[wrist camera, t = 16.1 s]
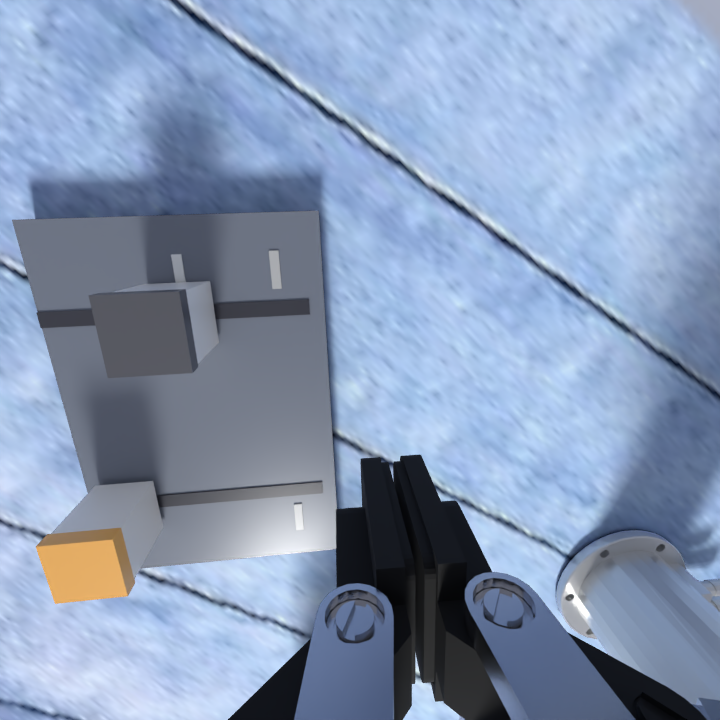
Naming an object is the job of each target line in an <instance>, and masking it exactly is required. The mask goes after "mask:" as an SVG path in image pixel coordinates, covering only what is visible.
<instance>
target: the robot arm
mask: <svg viewBox="0 0 720 720" xmlns="http://www.w3.org/2000/svg"><path fill="white" fill-rule="evenodd" d="M393 475H394V482H393V478H392V475H391V471H390V467H389V463H388V462H382V463H381V459H380V457H378V458H363V459H361V484H362V507H359V508H345V509H336V567H337V588H336V589H335V590H333V591H332V592H330V593H329V594H327V596H326V597H325V598H324V599H323V601H322V602H321V603H320V606H319V609H318V611H317V614H316V619H315V624H314V628H313V633H312V638H311V639H310V640H309V641H308V642H307V643H306V644H305V645H304V646H303V647H302V648H301V649H300V650H299V651H298V652H297V653H296V654H295V655H294V656H293V657H292V658H291V659H290V660H289V661H288V662H286V663H285V664H284V665H283V666H282V667H281V668H280V669H279V670H278V671H277V672H276V673H275V674H274V675H273V676H272V677H271V678H270V679H269V680H268V681H267V682H266V683H265V684H264V685H263V686H262V687H261V688H260V689H259V690H258V691H257V692H256V693H255V694H254V695H253V696H252V697H251V698H250V699H249V700H248V701H247V702H246V703H245V704H243V705H242V706H241V707H240V708H239V709H238V710H237V711H236V712H235V713H234V714H233V715H232V716H231V717H230V718H229V719H228V720H403V718H404V717H405V715H406V714H407V712H408V710H409V709H410V707H411V706H412V684H415V652H416V657H417V661H418V666H419V671H420V676H421V680H422V682H423V683H428V682H431V685H432V690H433V694H434V698H435V702H436V701H444V703H445V704H446V705H448V706H449V707H450V708H451V709H453V710H454V711H455V712H456V713H458V714H459V715H460V720H720V579H709V580H704V581H699V580H697V579H695V578H694V577H693V576H692V575H691V574H690V573H689V572H688V571H686V568H685V562H684V560H683V558H682V555H681V554H680V552H679V551H678V550H677V549H676V548H675V547H674V546H673V545H672V544H671V543H670V542H668V541H667V540H666V539H665V538H663V537H661V536H659V535H658V534H656V533H652V532H648V531H642V530H629V531H621V532H617V533H613V534H609V535H607V536H605V537H602V538H600V539H598V540H596V541H594V542H593V543H591V544H589V545H588V546H586V547H585V548H584V549H582V550H581V551H580V552H579V553H577V554H576V556H575V557H574V558H573V559H572V560H571V561H570V562H569V563H568V565H567V566H566V568H565V569H564V571H563V573H562V575H561V577H560V580H559V582H558V586H557V591H556V602H557V605H558V609H559V611H560V613H561V614H562V616H563V618H564V619H565V621H566V622H567V624H568V625H569V626H570V627H571V628H572V629H573V630H574V631H576V632H577V633H579V634H581V635H583V636H585V637H589V638H594V639H598V641H599V642H600V643H601V645H602V646H603V648H604V649H605V651H606V652H607V654H606V653H604V652H602V651H601V650H599V649H597V648H595V647H593V646H591V645H590V644H588V643H586V642H584V641H582V640H580V639H579V638H577V637H575V636H573V635H571V634H569V633H568V632H567V631H566V630H565V629H564V628H563V626H562V625H561V624H560V622H559V621H558V620H557V619H556V617H555V616H554V615H553V614H552V612H551V611H550V610H549V608H548V607H547V606H546V605H545V603H544V602H543V601H542V599H541V598H540V597H539V596H538V594H537V593H536V592H535V591H534V590H533V589H532V588H531V587H530V586H529V585H527V584H526V583H524V582H523V581H521V580H520V579H518V578H516V577H513V576H511V575H508V574H504V573H498V572H492V571H491V569H490V567H489V565H488V563H487V561H486V559H485V557H484V555H483V553H482V551H481V549H480V546H479V544H478V542H477V540H476V538H475V536H474V534H473V532H472V530H471V528H470V526H469V524H468V522H467V520H466V518H465V516H464V514H463V512H462V510H461V508H460V506H459V504H458V503H457V502H456V501H442V502H441V500H440V498H439V496H438V494H437V491H436V489H435V487H434V484H433V482H432V480H431V477H430V475H429V473H428V470H427V468H426V466H425V463H424V461H423V459H422V456H421V455H409V456H401V457H400V461H397V462H394V464H393Z"/></svg>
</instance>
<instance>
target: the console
mask: <svg viewBox="0 0 720 720" xmlns="http://www.w3.org/2000/svg"><path fill="white" fill-rule="evenodd" d="M12 222H13V225H14V229H15V232H16V236H17V240H18V243H19V247H20V250H21V254H22V258H23V261H24V265H25V268H26V272H27V276H28V279H29V283H30V286H31V290H32V294H33V297H34V301H35V304H36V308H37V316H38V319H39V323H40V327H41V328H42V330H43V333H44V337H45V340H46V344H47V348H48V351H49V355H50V358H51V362H52V366H53V369H54V373H55V376H56V380H57V384H58V387H59V391H60V394H61V398H62V402H63V405H64V409H65V412H66V416H67V420H68V423H69V427H70V430H71V434H72V438H73V441H74V445H75V448H76V452H77V456H78V459H79V463H80V466H81V470H82V474H83V477H84V481H85V484H86V488H87V492H88V493H89V492H90V491H91V490H92V489H93V487H94V486H97V485H109V484H122V483H134V482H146V481H153V483H154V487H155V492H156V496H157V501H158V506H159V510H160V515H161V519H162V524H163V528H162V530H161V532H160V533H159V535H158V537H157V539H156V541H155V543H154V544H153V546H152V548H151V550H150V552H149V553H148V555H147V557H146V559H145V561H144V563H143V564H142V566H141V568H150V567H161V566H171V565H181V564H191V563H201V562H211V561H221V560H232V559H242V558H252V557H262V556H272V555H282V554H292V553H302V552H313V551H323V550H333V549H336V509H337V503H336V486H335V470H334V454H333V437H332V421H331V405H330V388H329V372H328V355H327V339H326V323H325V306H324V290H323V274H322V257H321V241H320V225H319V211H289V212H256V213H223V214H190V215H157V216H124V217H91V218H58V219H25V220H12ZM202 281H210V284H211V291H212V298H213V305H214V312H215V319H216V326H217V333H218V339H219V343H218V344H217V345H216V346H215V347H214V348H213V349H212V350H211V351H210V352H209V353H208V354H207V355H206V356H205V357H204V358H203V359H202V360H201V361H200V362H199V363H198V368H197V369H196V370H195V371H194V372H193V373H186V374H170V375H154V376H137V377H121V378H108V377H107V372H106V368H105V364H104V360H103V355H102V351H101V347H100V343H99V338H98V334H97V330H96V326H95V322H94V317H93V313H92V309H91V305H90V300H89V295H93V294H97V293H108V292H115V291H119V290H123V289H127V288H131V287H135V286H138V285H142V284H156V283H179V282H202Z"/></svg>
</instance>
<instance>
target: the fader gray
mask: <svg viewBox="0 0 720 720" xmlns="http://www.w3.org/2000/svg"><path fill="white" fill-rule="evenodd" d="M89 300H90V305H91V309H92V313H93V317H94V322H95V326H96V330H97V334H98V338H99V343H100V347H101V351H102V355H103V360H104V364H105V368H106V372H107V377H108V378H121V377H137V376H154V375H170V374H186V373H193V372H194V371H195V370H196V369H197V368H198V363H199V362H200V361H201V360H202V359H203V358H204V357H205V356H206V355H207V354H208V353H209V352H210V351H211V350H212V349H213V348H214V347H215V346H216V345H217V344H218V343H219V339H218V333H217V326H216V319H215V312H214V305H213V298H212V291H211V284H210V281H202V282H179V283H156V284H142V285H138V286H135V287H131V288H127V289H123V290H119V291H115V292H108V293H97V294H93V295H89Z"/></svg>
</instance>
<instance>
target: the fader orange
mask: <svg viewBox="0 0 720 720" xmlns="http://www.w3.org/2000/svg"><path fill="white" fill-rule="evenodd" d="M162 528H163V524H162V519H161V515H160V510H159V506H158V501H157V496H156V492H155V487H154V483H153V481H146V482H134V483H122V484H109V485H97V486H94V487H93V489H92V490H91V491H90V492H89V493H88V494H87V495H86V496H85V497H84V498H83V500H82V501H81V502H80V503H79V504H78V505H77V506H76V507H75V508H74V509H73V510H72V512H71V513H70V514H69V515H68V516H67V517H66V518H65V519H64V520H63V521H62V522H61V524H60V525H59V526H58V527H57V528H56V529H55V530H54V531H53V532H52V533H51V534H47V535H46V536H45V537H44V538H43V540H42V541H41V542H40V543H39V544H38V545H37V546H36V549H37V552H38V555H39V558H40V561H41V564H42V567H43V569H44V572H45V575H46V578H47V581H48V584H49V587H50V590H51V593H52V596H53V599H54V602H55V604H57V603H66V602H76V601H85V600H95V599H105V598H114V597H124V596H128V595H129V593H130V591H131V589H132V587H133V586H134V584H135V580H134V579H135V577H136V575H137V574H138V572H139V570H140V568H141V566H142V564H143V563H144V561H145V559H146V557H147V555H148V553H149V552H150V550H151V548H152V546H153V544H154V543H155V541H156V539H157V537H158V535H159V533H160V532H161V530H162Z"/></svg>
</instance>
